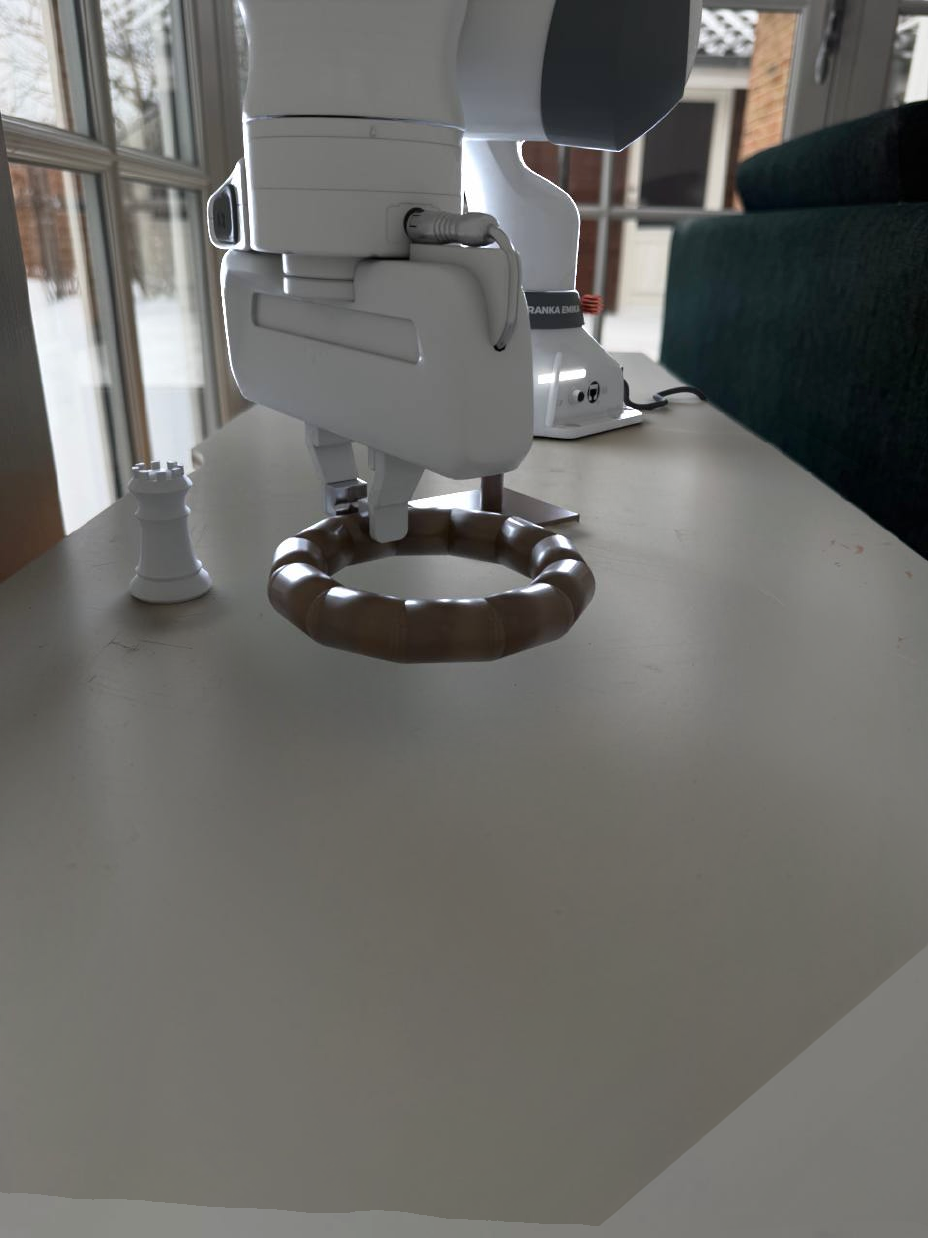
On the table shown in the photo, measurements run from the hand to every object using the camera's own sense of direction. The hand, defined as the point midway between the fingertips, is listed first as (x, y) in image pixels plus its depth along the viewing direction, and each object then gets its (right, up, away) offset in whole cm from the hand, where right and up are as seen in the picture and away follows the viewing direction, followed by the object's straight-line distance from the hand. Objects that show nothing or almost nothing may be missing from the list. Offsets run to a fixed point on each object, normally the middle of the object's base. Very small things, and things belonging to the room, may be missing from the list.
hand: (363, 526), depth 42 cm
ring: (+3, -2, -4) cm, 6 cm away
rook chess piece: (-11, -4, +6) cm, 14 cm away
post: (+7, +2, +21) cm, 22 cm away
